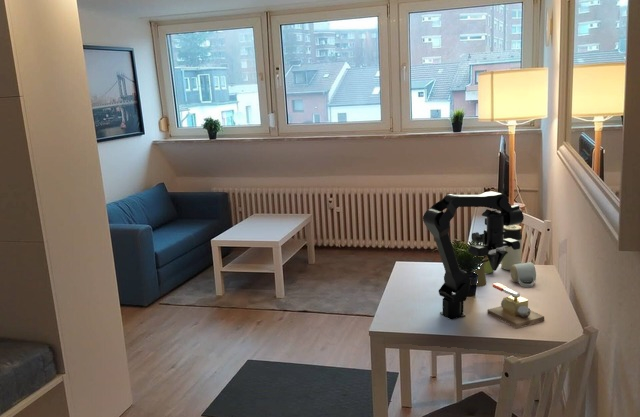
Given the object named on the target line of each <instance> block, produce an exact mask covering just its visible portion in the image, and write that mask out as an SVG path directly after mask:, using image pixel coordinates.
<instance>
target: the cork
mask: <svg viewBox="0 0 640 417" xmlns="http://www.w3.org/2000/svg"><path fill="white" fill-rule="evenodd" d="M485 263H486V262H485ZM485 263H483V264H482V265H481V268H480V269H478V270H475V271H474V272H475V273H476V274H478V283H477V286H476V287H484V286H487V276H486V273H485V268H484V265H485Z"/></svg>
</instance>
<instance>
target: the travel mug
mask: <svg viewBox="0 0 640 417" xmlns="http://www.w3.org/2000/svg"><path fill="white" fill-rule="evenodd" d="M521 230H522V226H520V225H519V224H515V225H510V226H505V225H504V231H506V234H504V238H503V239H507V238H512V239H515V240H518V241H519V242H520V249H517V250H513V249H512V246H511V247H506V248H505V251H507V252H508V253H507V254H506V255H505V256H504V258H503V259H502V261H501V263H500V266H501V268H502V269H504V270H506V271H510V269H511V266H512V265H515V264H521V263H522V250H523V249H522V247H523V245H522V244H523V242H522V241H523V234H522V232H521Z"/></svg>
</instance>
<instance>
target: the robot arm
mask: <svg viewBox="0 0 640 417" xmlns="http://www.w3.org/2000/svg"><path fill="white" fill-rule="evenodd" d="M474 207H475V208H477V207H478V208H479V207H480V208H481V207H482V208H487V209H485V211H484V212H482V213H481V216H482V217H484V218H486V229H483V233H479V232H478V231H477V232H472V233H471V241H472V242H473V243H475V244H472V245H471V244H470V246H469V247H468V254H470V255H473V256H474V257H476V256H478V257H483V256H487V257H488V259H489V262H490V265H491V268H492V270H493V272H496V271H497V270H498V268H499V267H500V265H501V261H502V259H503V258H504V256H505V255H506V254H507V253H508V252H507V251H505V248H506V247H511V246H512V249H513V250H517V249H520V242H519V241H518V240H515V239H512V238H507V239H503V238H504V234H506V231H504V226H510V225H521V224H522V223H523V222H524V218H525V217H524V213H523V211H522V210H521V208H520V207H521V206H520V205H519V204H512V205H511V203H510V202H509V200H508V197H507V195H506V194H504V193H501V192H497V191H490V190H489V191H485V192H483V193H480V194H451V193H448V194H446V195H444V197H443V198H442V199H441V200H439V201H438V202H436V203H434V204H433V205H432V206H430V208H429V209H426V211H425V212H424V214H423V216H422V221H423V223H424V225H425V227H426V229H427V230H428V231H429V232H430V234H431V235H432V237H433V239H434V241H435V244H436V247H437V250H438V254H439V256H440V258H441V262H442V265H443V267H444V272H445V273H444V276H443V281H444V282H443V284H442V285H441V287H440V288H439V289H438V294H439V296H441V298H442V311H440V312H439V315H441V316H443V317H445V318H447V319H448V320H451V321H452V320H455V319H459V318H462V317H466V313H464V302H466V300H467V297H468V294H469V291H470V290H471V279H470V277H469V274H468V272H467V271H465V270H462V269H460V265H459V263H458V259H457V255H456V254H455V249H454V247H453V244H452V241H451V237H450V235H449V232H450V228H451V224H450V222H451V220H453V219H454V217H455V215H456V211H457V210H458V208H474ZM491 209H492V210H491Z"/></svg>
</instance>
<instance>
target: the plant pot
mask: <svg viewBox="0 0 640 417" xmlns="http://www.w3.org/2000/svg"><path fill="white" fill-rule="evenodd" d="M484 268H485V274H491V273H493V272H494V271H493V270H492V268H491V265H490V262H489V261H488V262H486V263H485V265H484Z"/></svg>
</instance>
